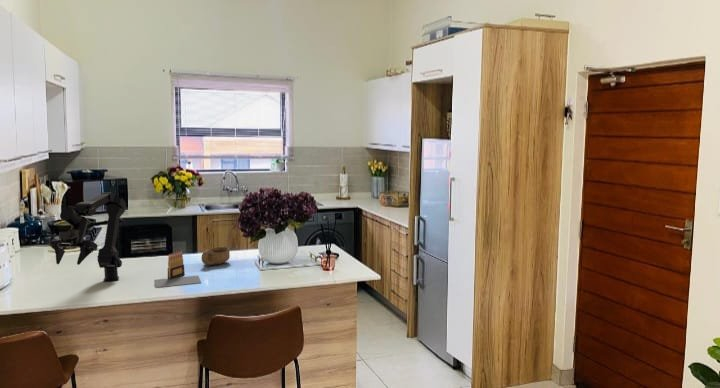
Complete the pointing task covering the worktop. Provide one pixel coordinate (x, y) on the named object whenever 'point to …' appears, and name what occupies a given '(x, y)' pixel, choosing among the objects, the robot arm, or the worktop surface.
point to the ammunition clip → (175, 265)
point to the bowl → (216, 255)
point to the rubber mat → (177, 281)
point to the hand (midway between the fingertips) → (67, 264)
